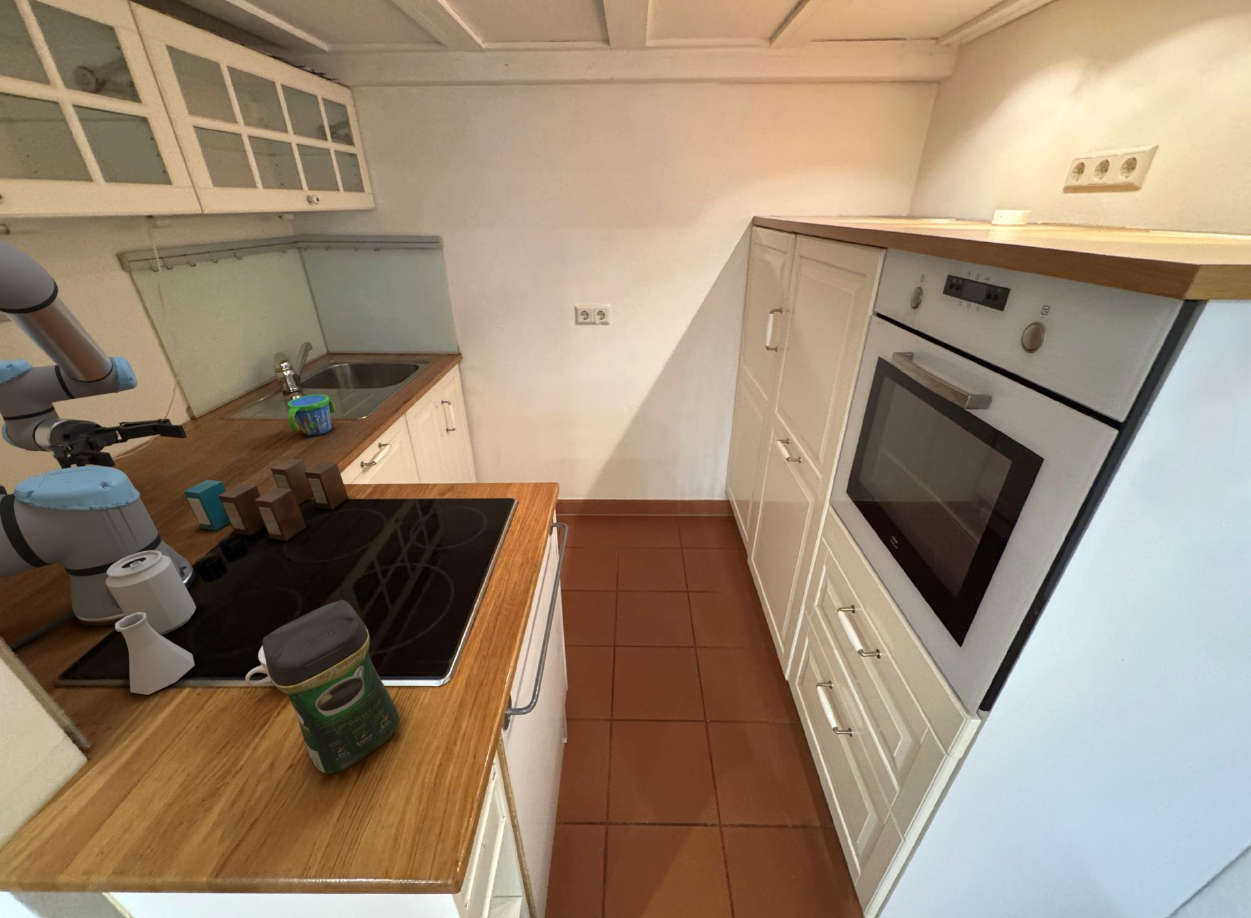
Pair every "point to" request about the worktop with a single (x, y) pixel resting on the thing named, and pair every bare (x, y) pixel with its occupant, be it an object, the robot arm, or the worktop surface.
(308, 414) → the snack cup
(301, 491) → the brown rectangular box
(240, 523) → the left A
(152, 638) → the flask
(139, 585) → the can
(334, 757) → the coffee jar
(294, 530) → the brown wooden block
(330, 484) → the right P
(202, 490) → the teal rectangular block
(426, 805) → the worktop surface
